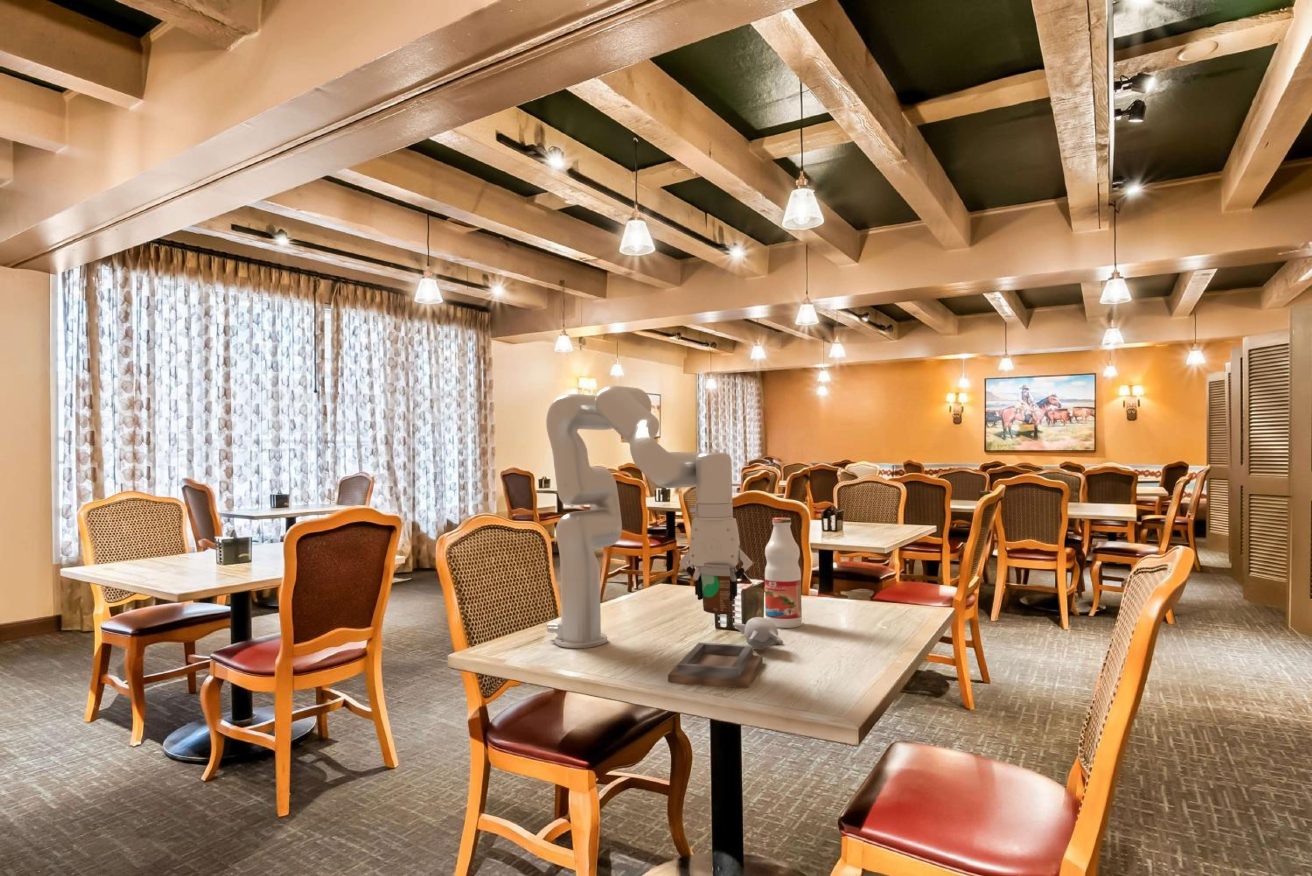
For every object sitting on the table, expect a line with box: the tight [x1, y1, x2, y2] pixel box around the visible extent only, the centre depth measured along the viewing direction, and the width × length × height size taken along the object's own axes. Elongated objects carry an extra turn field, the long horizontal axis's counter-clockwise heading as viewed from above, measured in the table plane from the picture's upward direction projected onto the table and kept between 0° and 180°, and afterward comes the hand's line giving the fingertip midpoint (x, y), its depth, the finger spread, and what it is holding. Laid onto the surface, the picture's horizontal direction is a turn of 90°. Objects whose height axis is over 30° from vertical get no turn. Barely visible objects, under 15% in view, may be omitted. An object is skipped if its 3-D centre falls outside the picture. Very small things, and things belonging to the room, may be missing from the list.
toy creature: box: [732, 616, 784, 651], centre depth 169 cm, size 13×7×20 cm
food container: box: [698, 563, 731, 616], centre depth 151 cm, size 12×6×10 cm, turn 0°
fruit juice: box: [764, 517, 803, 629], centre depth 192 cm, size 9×9×28 cm
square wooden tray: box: [667, 642, 763, 689], centre depth 150 cm, size 16×18×4 cm
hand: (716, 598), depth 151 cm, fingers closed on food container, 5 cm apart
